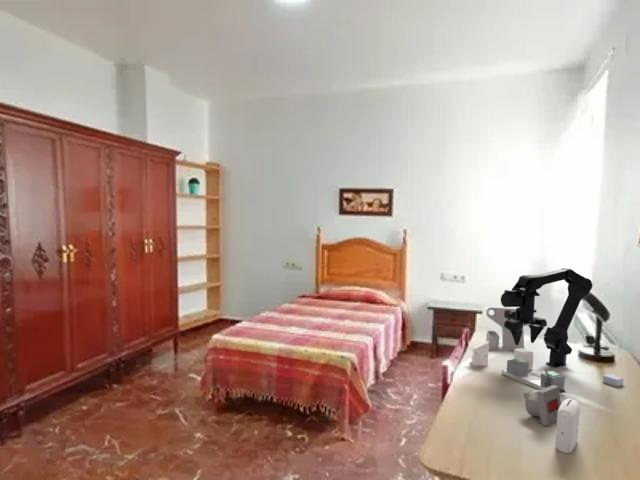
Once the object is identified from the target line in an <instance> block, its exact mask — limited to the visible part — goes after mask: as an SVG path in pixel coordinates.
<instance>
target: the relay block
mask: <svg viewBox="0 0 640 480" xmlns="http://www.w3.org/2000/svg"><path fill="white" fill-rule="evenodd" d="M602 383H604V384H607V385H611V386H612V387H616V388H617V387H621V386H623V385H624V377H621V376H618V375H614V374H611V373H607V374H603V376H602Z"/></svg>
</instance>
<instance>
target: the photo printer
mask: <svg viewBox="0 0 640 480" xmlns="http://www.w3.org/2000/svg"><path fill="white" fill-rule="evenodd" d="M579 424H580V404H579V403H578V401H577V400H576V399H571V398H567V399H565V400H563V401H561V405H560V407H559V409H558V414H557V421H556V431H555V432H556V433H555V449H556V450H557V451H559V452H561V453H564V454H570V453H572V452H573V450H574V449H575V447H576V445H577V442H578V437H579V436H578V435H579Z"/></svg>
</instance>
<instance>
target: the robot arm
mask: <svg viewBox="0 0 640 480" xmlns="http://www.w3.org/2000/svg"><path fill="white" fill-rule="evenodd" d="M561 281H564V282H566V283H567V284H568V285H567V293H568V295H567V297H566V300H565V302H564V304H563V306H562V309H561V311H560V313H559V315H558V317H557V319H556V322H555V324H554V325H553V326H552V327H549V326H548V327H547V325H548V321H547V320H546V318H542V317H537V316H535V314H536V313H537V309H535V303H536V300H535V299H536V297H540V296H541V294H540V293H539V292H538V291H537V290H539V289H541V288H542V287H543V286H545V285H548V284H551V283H556V282H561ZM592 288H593V282H592V280H591V279H590V278H587V277H584V276H583V275H581V274H579V273H578V272H576V271H574V270H573V269H572V268H568V267H567V268H565V267H563V268H562V267H561V268H560V269H558V270H552V271H548V272H544V273H540V274H524V275H520V276H519V277H518V279H517V282H516V283H515V284H514V285H513V287H512V288H511V290H509V289H504V293H502V295H501V297H500V304H501V305H502V306H503V307H504V308H515V309H516V311H515V312H511V311H510V310H506V311H505V312H504V317H505V318H507V319H508V320H506V321H505V322H504V327H506V328H507V329H509V330H510V331H511V333H512V336H513V339H514V342H515V345H518V344H519V342H520V338H521V335H522V332H524V327H526V326H528V327H529V332H530V343H531V344H534V343H535V342H536V340H537V338H538V336H540V334H541V332H542V331H543V330H544V329H545V328H546V330H545V333H544V334H543V342H544V344H545V347H546V349H548V350H550V351H549V357H548V362H545V364H546V365H548V366H551V367H554V368H560V367H561V368H562V367H564V366H567V356H568V355H571V354H572V351H573V348H572V347H571V346H570V345H569V344H568V340H569V335H568V330H569V328H570V325H571V323H572V321H573V319H574V316H575V314H576V312H577V309H578V307H579V305H580V303H581V302H582V300H584V298H585V297H587V296H589V293H590V292H591V291H592ZM511 319H512V320H511ZM515 320H516V321H515ZM518 321H519V322H518ZM522 328H523V330H521V329H522Z"/></svg>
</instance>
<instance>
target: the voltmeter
mask: <svg viewBox="0 0 640 480" xmlns="http://www.w3.org/2000/svg"><path fill="white" fill-rule="evenodd" d="M545 372H546V374H547V376H548V378H549V375H548V373H547V372H548V371H547V369H546V368H545V369H544V373H545ZM548 378H547V381H548V383H549V385H550V386H549V385H548V383H547V381H546V383H547V386H548V387H547V386H546V383H545V382H544V383H545V386H546V388H544V389H542V390H539V389H529V390H527V392H523V396H524V405H525V410H526V412H527V413H528V414H529V416H533V417H539V418H540V419H538V420H537V421H538V422H539V423H541V426H549V425H552V424H553V423H557V414H558V409H559V407H560V405H561V404H562V400H561V393H560V392H559V387H558V386H555V385H552V386H551V384H550V383H551V380H550V378H549V380H550V382H549V380H548Z"/></svg>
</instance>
